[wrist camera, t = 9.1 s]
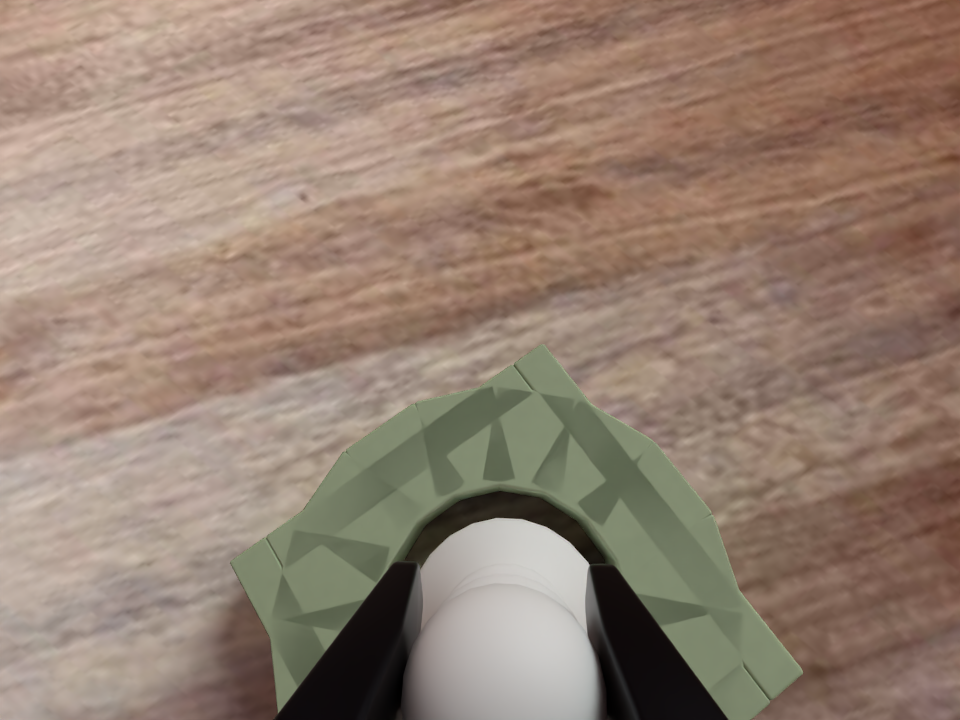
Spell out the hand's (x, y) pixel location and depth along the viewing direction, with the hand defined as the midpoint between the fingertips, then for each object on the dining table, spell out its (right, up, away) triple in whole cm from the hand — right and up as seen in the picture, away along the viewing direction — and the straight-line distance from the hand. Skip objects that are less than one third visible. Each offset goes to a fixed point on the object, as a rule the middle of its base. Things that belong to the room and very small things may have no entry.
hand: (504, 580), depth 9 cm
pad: (0, -3, +6) cm, 7 cm away
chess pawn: (0, -3, +6) cm, 7 cm away
